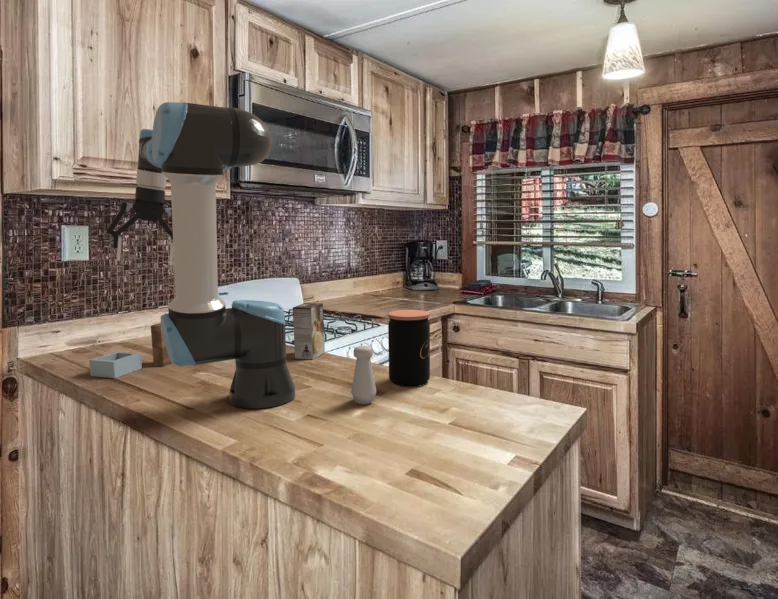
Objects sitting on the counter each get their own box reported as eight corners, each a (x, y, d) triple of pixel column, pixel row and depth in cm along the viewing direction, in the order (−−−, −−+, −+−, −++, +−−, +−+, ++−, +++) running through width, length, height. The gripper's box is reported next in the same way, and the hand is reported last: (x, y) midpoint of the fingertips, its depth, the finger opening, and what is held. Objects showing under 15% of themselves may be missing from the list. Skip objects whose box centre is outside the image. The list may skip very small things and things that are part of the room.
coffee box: (306, 351, 170) (305, 302, 168) (325, 352, 169) (323, 303, 166) (294, 358, 162) (292, 306, 159) (313, 360, 160) (311, 307, 158)
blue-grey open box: (141, 368, 153) (140, 353, 152) (114, 378, 143) (113, 362, 143) (118, 366, 155) (117, 351, 154) (90, 375, 146) (89, 360, 145)
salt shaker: (367, 407, 118) (366, 350, 116) (346, 403, 121) (345, 347, 119) (381, 400, 123) (380, 345, 121) (361, 396, 126) (359, 342, 124)
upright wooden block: (175, 362, 159) (172, 323, 158) (163, 366, 155) (160, 326, 153) (165, 361, 160) (162, 322, 159) (153, 365, 156) (150, 325, 154)
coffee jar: (427, 388, 131) (427, 317, 128) (385, 386, 133) (384, 316, 130) (432, 376, 141) (432, 310, 139) (393, 374, 143) (392, 309, 141)
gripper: (196, 193, 156) (190, 264, 160) (100, 179, 145) (96, 255, 149) (199, 195, 150) (192, 268, 153) (99, 180, 138) (94, 260, 142)
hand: (145, 262), depth 151 cm, fingers open, 13 cm apart
